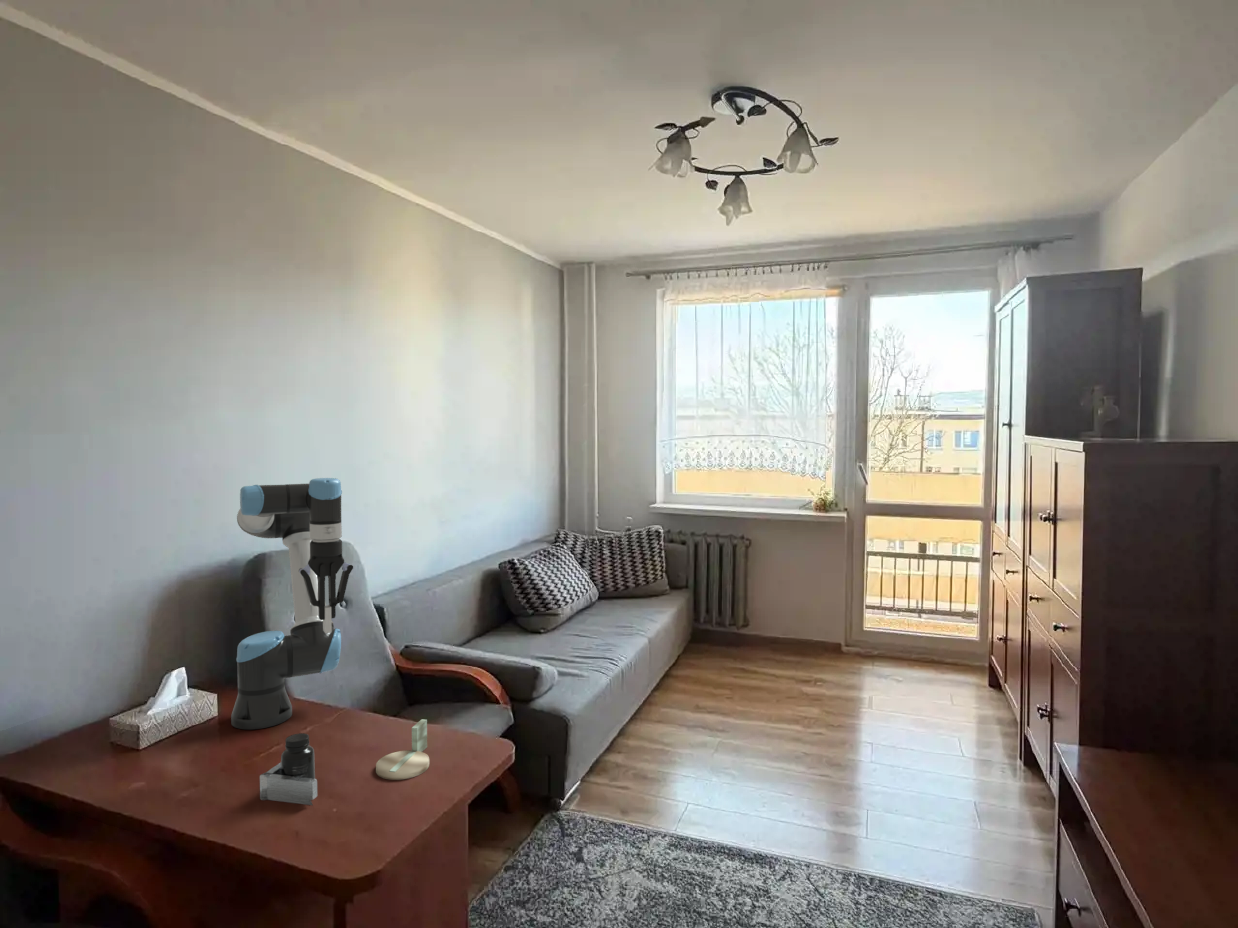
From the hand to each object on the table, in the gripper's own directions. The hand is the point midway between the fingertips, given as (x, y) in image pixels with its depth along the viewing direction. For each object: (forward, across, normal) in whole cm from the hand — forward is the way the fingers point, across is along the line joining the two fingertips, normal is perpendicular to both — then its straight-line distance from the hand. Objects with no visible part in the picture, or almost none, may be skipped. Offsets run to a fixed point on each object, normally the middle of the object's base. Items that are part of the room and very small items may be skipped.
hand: (327, 631), depth 183 cm
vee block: (+29, -14, -21) cm, 38 cm away
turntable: (+28, +13, -25) cm, 39 cm away
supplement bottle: (+29, -11, -21) cm, 38 cm away
